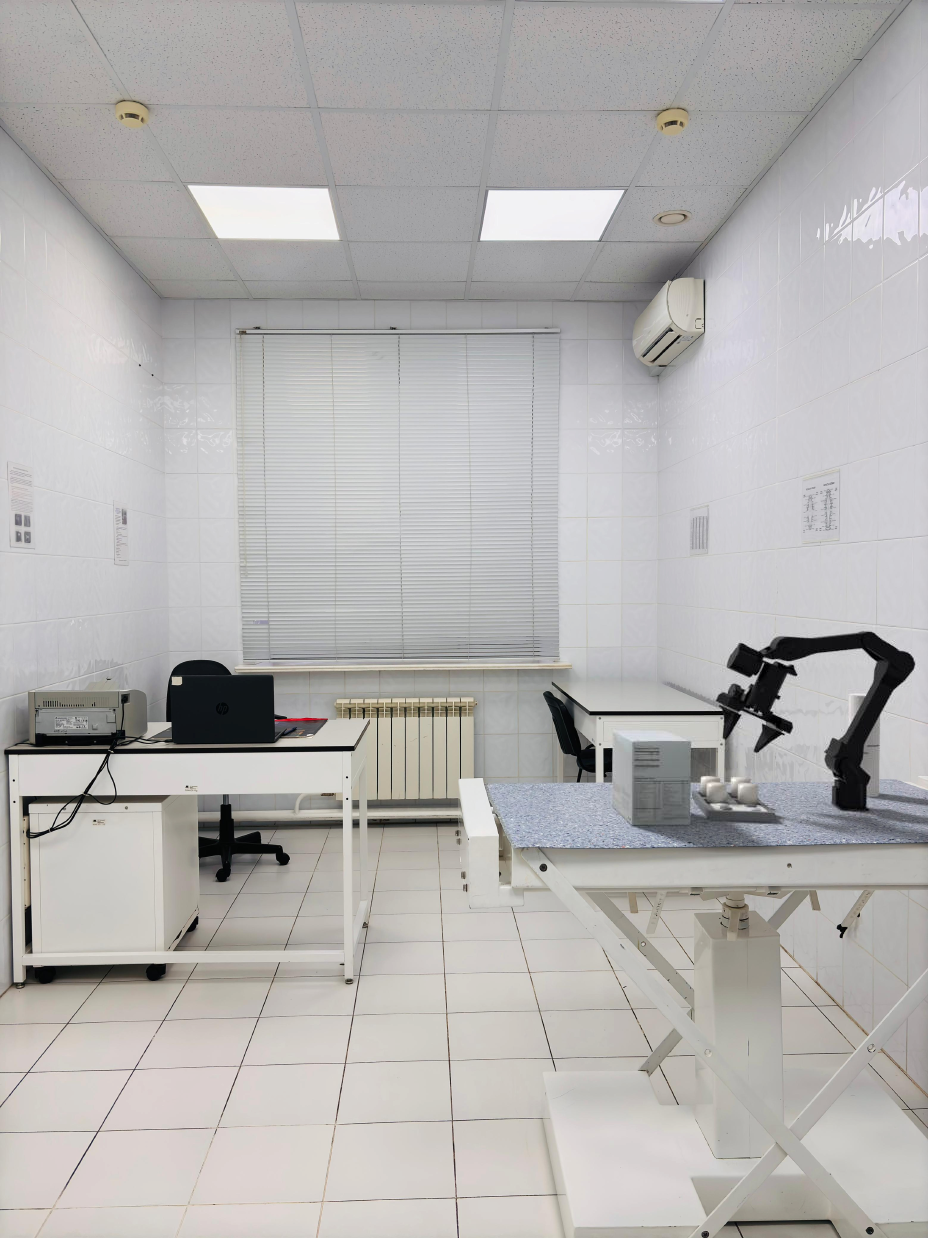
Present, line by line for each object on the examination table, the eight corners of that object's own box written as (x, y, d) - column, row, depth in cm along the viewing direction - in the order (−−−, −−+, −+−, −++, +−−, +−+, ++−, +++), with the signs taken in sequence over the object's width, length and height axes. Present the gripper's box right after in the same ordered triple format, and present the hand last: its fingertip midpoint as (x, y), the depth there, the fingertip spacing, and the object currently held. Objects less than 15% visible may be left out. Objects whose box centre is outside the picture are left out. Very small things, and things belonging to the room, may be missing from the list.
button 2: (724, 799, 187) (724, 782, 187) (728, 804, 183) (728, 786, 183) (704, 799, 188) (705, 782, 188) (708, 803, 183) (708, 786, 183)
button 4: (755, 800, 187) (755, 783, 187) (760, 805, 182) (760, 787, 182) (735, 800, 187) (736, 783, 187) (740, 804, 183) (740, 787, 183)
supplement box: (692, 826, 172) (693, 741, 171) (630, 826, 171) (631, 741, 171) (666, 806, 189) (667, 729, 189) (610, 807, 188) (611, 729, 188)
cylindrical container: (884, 797, 201) (886, 696, 200) (855, 796, 201) (857, 696, 200) (870, 790, 208) (871, 693, 208) (842, 790, 208) (843, 693, 208)
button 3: (747, 794, 194) (747, 777, 193) (752, 798, 189) (752, 781, 189) (728, 793, 194) (729, 776, 194) (733, 797, 190) (733, 780, 190)
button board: (751, 800, 195) (751, 790, 195) (775, 822, 175) (775, 811, 175) (691, 798, 197) (692, 789, 197) (708, 820, 177) (709, 809, 177)
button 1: (717, 793, 194) (717, 776, 194) (721, 797, 190) (721, 780, 190) (698, 792, 195) (699, 776, 195) (702, 796, 190) (702, 779, 190)
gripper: (778, 692, 201) (751, 748, 202) (717, 664, 196) (690, 723, 197) (806, 703, 190) (778, 763, 191) (743, 674, 185) (714, 736, 186)
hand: (739, 745), depth 191 cm, fingers open, 9 cm apart
